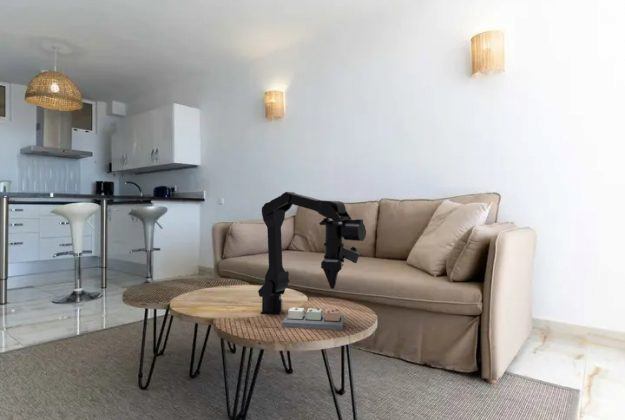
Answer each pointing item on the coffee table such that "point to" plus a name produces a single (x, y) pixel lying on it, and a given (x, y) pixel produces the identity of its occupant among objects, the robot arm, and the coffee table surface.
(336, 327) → the board
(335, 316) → the tile three
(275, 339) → the coffee table surface
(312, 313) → the tile two
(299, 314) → the tile one
